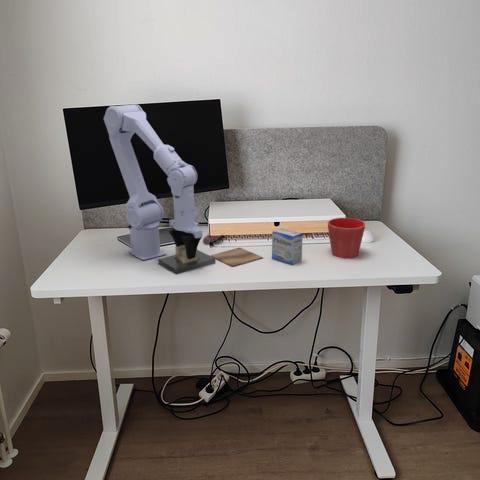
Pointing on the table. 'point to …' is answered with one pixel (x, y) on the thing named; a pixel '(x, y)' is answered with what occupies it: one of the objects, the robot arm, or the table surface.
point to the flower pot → (345, 236)
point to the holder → (179, 267)
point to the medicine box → (287, 246)
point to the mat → (236, 257)
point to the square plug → (183, 255)
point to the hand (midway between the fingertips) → (186, 255)
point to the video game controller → (212, 238)
